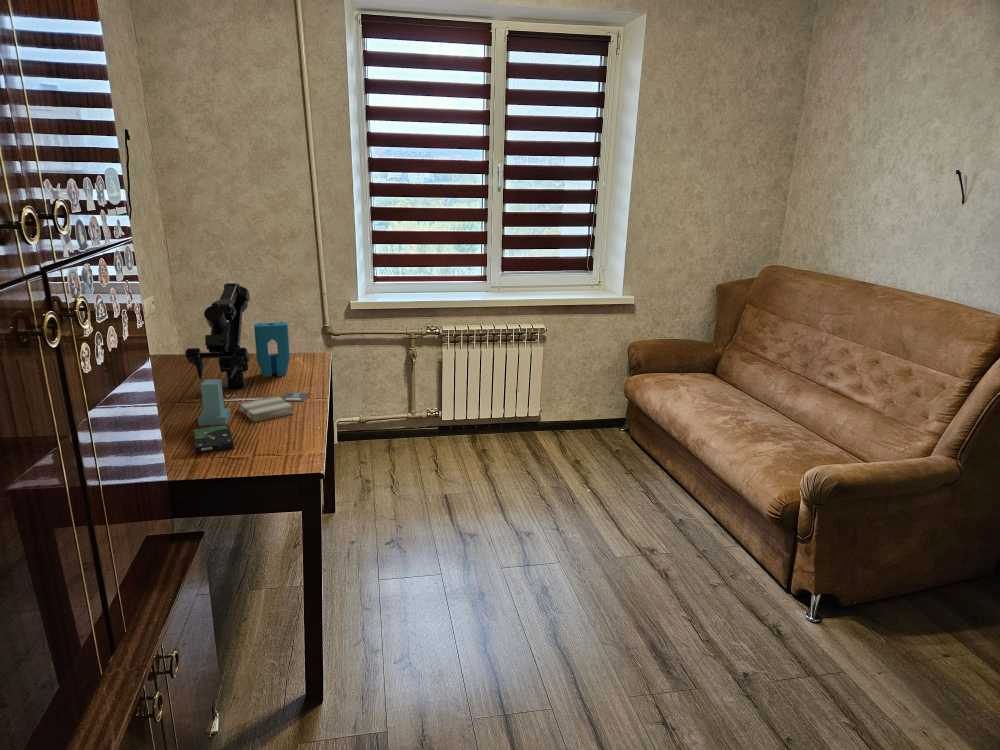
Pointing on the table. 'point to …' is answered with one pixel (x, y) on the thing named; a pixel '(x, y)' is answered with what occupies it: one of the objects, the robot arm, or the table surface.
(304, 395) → the slate card
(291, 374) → the table surface
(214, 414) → the teal block
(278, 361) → the block
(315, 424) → the table surface
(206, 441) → the disk drive
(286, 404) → the cream base block
